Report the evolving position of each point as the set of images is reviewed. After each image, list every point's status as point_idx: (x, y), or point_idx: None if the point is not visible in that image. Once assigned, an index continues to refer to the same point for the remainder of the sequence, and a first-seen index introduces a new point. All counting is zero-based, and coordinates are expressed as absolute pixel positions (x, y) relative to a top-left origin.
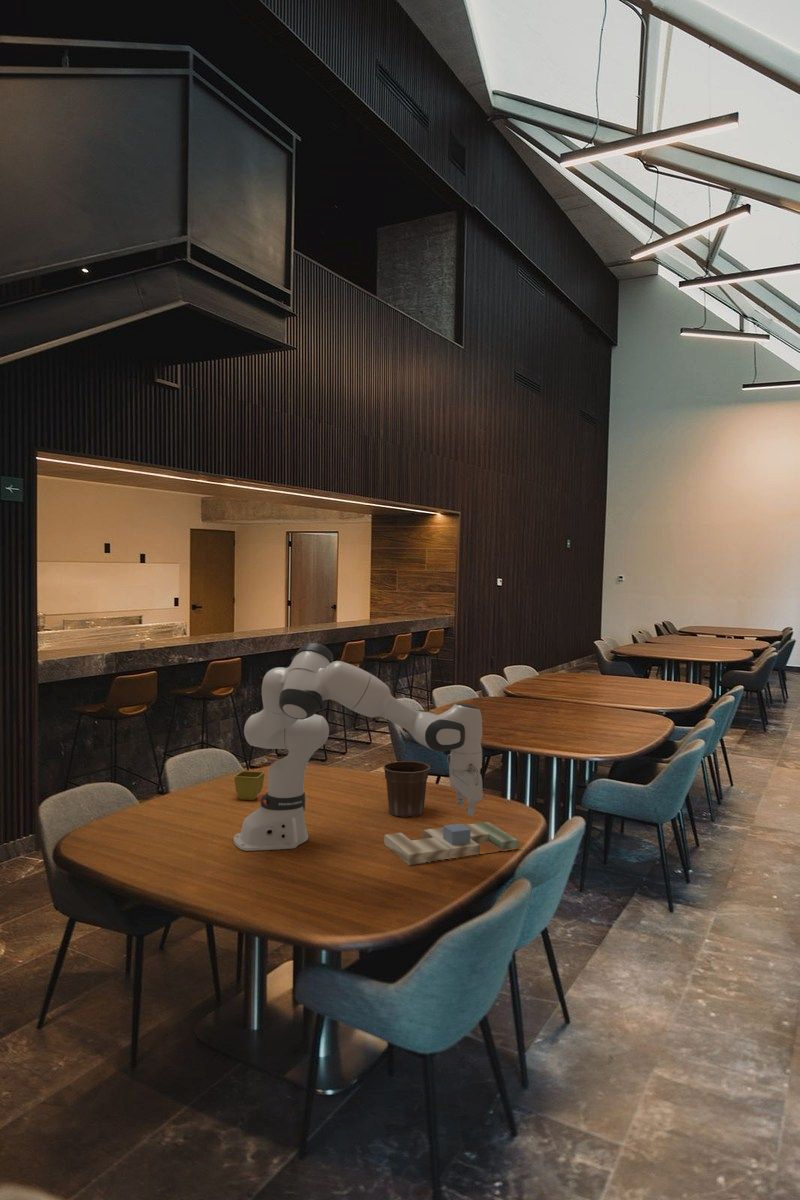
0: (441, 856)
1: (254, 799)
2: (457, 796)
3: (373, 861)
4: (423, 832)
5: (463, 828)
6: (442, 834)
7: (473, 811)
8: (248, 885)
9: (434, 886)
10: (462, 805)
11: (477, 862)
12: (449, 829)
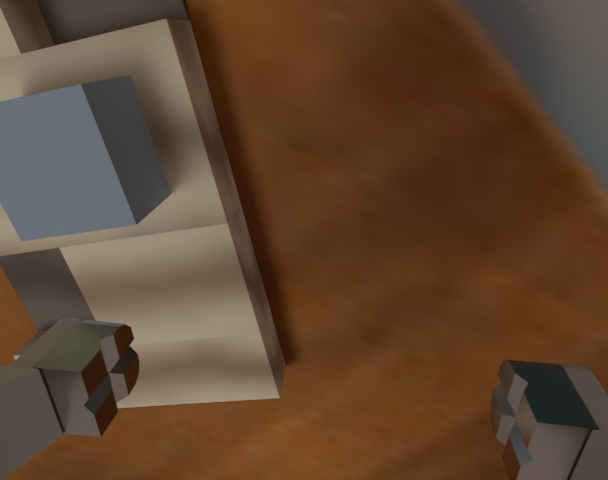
0: (247, 250)
1: None
2: (17, 462)
3: (235, 444)
4: None
5: (61, 130)
6: None
7: (603, 407)
8: None
9: (514, 343)
10: (129, 341)
11: (295, 73)
12: (90, 228)
